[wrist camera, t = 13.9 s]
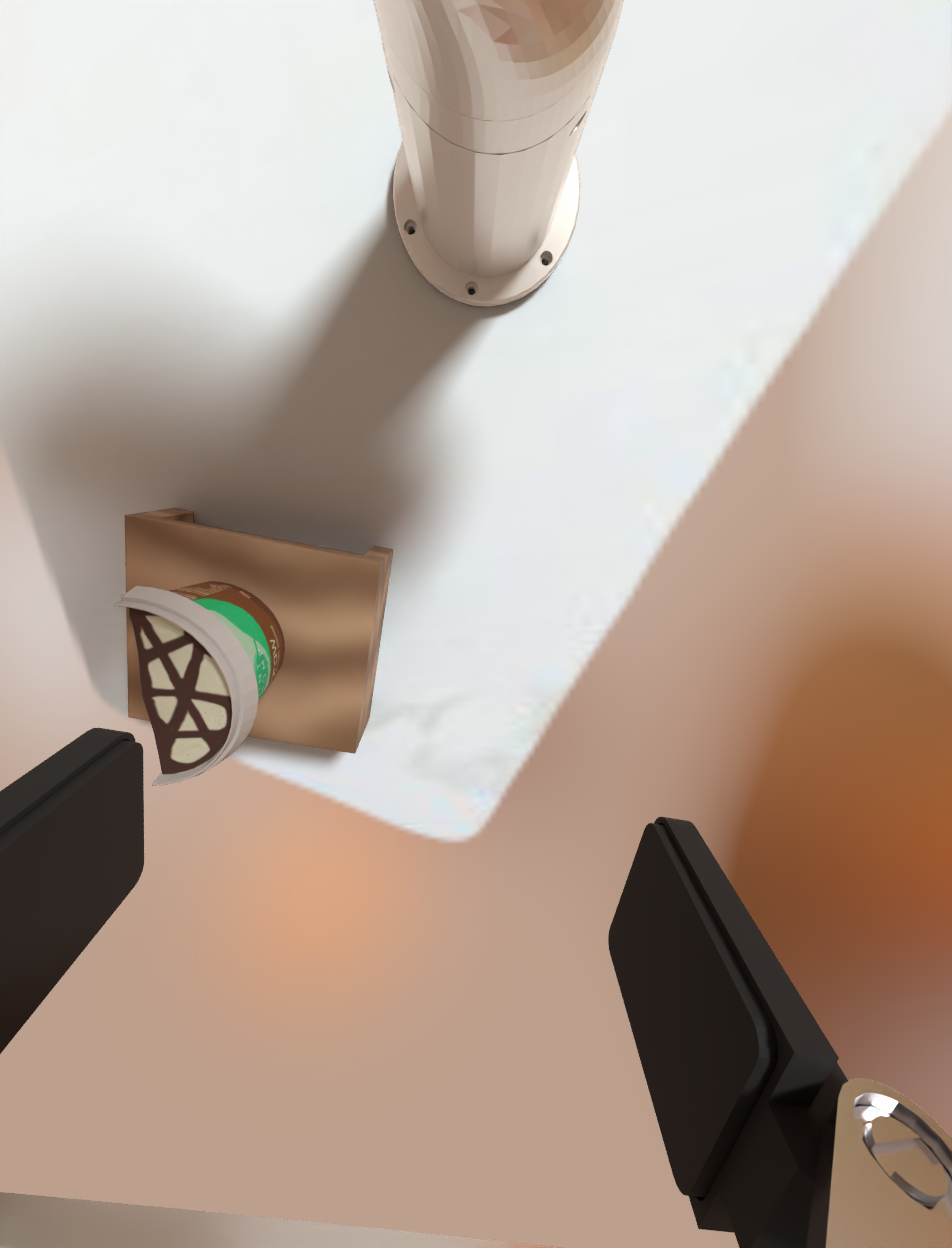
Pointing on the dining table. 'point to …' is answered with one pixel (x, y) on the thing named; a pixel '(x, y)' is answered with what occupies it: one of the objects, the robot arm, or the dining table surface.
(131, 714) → the walnut shelf
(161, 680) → the food container
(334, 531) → the dining table surface
